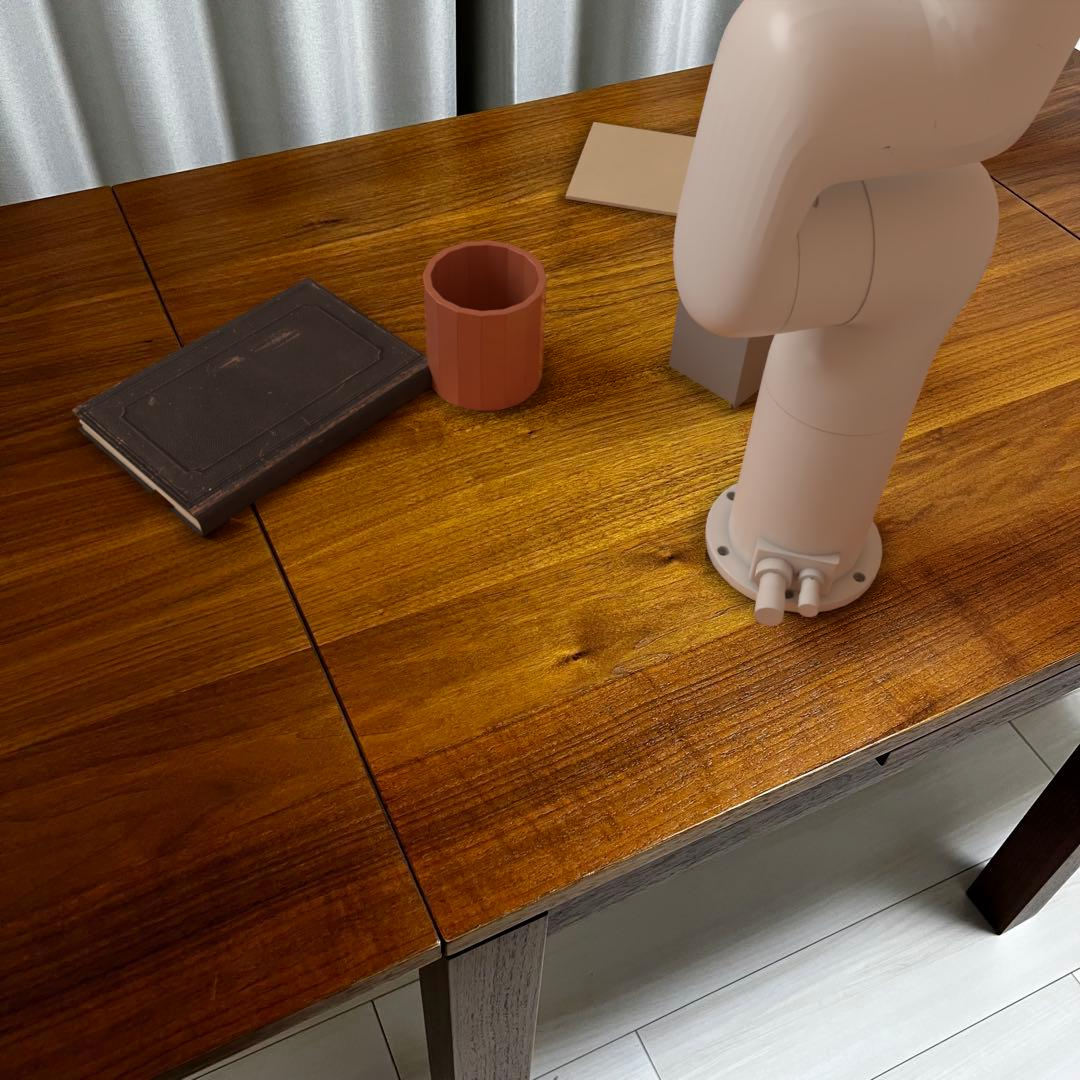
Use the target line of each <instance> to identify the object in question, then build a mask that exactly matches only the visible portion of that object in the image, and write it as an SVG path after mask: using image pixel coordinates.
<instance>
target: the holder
mask: <svg viewBox="0 0 1080 1080" xmlns="http://www.w3.org/2000/svg"><path fill="white" fill-rule="evenodd" d="M422 285H423V286H422V290H423V306H424V307H423V310H424V332H425V356H427V359H428V365H429V368H430V371H431V375H432V386H431V388H432V389H433V390H434V392H435V393H436V394H437V395H438V396H439V397H440V398H441V399H443V400H444V401H446V402H447V403H449V404H451V405H453V406H456V407H459V408H461V409H465V410H468V411H469V410H470V411H475V412H476V411H478V412H494V411H495V412H496V411H501V410H505V409H509V408H511V407H514V406H517V405H519V404H521V403H523V402H525V401H526V400H527V399H529V398H530V397H531V396H532V395H533V394H534V393H535V392H536V391H537V389H538V388H539V385H540V382H541V379H542V377H543V371H544V370H543V369H544V348H545V328H546V311H547V309H546V308H547V291H548V290H547V288H548V277H547V275H546V271H545V268H544V265H543V264H542V263H541V262H540V261H539V260H538V259H537V258H536V257H535V256H534V255H533V254H532V253H531V252H529V251H527V250H525V249H524V248H521V247H518V246H516V245H514V244H511V243H507V242H501V241H495V240H475V241H473V240H472V241H465V242H461V243H457V244H455V245H452V246H448V247H445V248H443V249H442V250H441V251H439V252H438V253H437V254H435V255H434V256H433V257H432V258H430V259H429V260H428V263H427V264H426V267H425V268H424V271H423V273H422Z"/></svg>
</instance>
